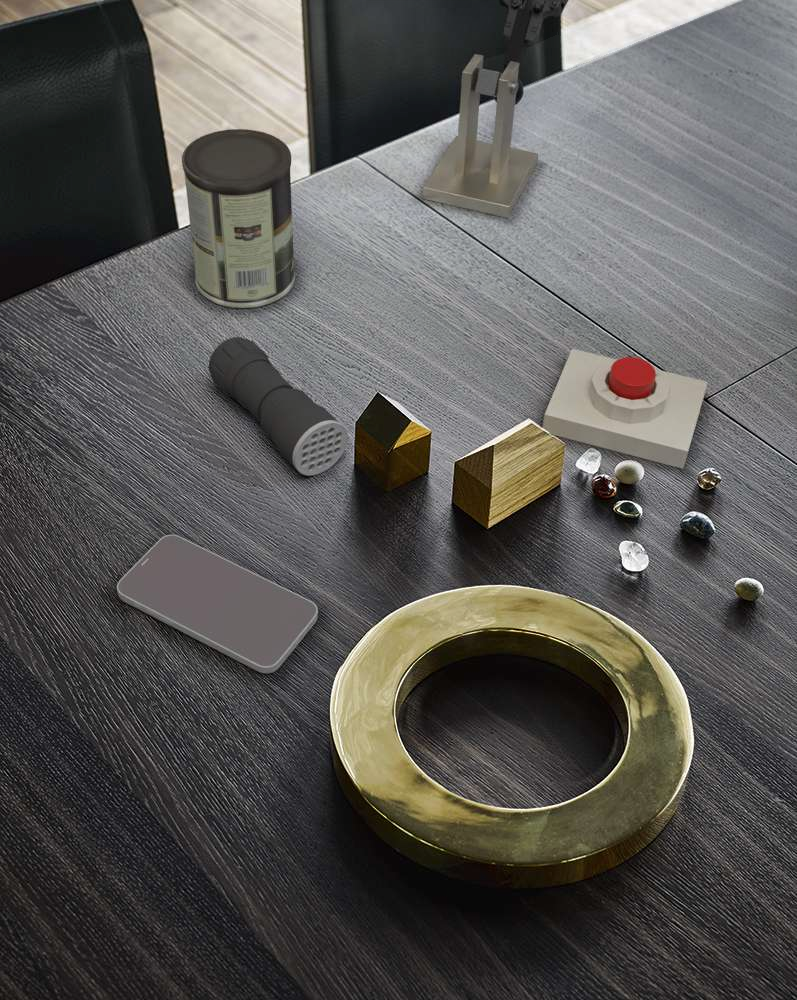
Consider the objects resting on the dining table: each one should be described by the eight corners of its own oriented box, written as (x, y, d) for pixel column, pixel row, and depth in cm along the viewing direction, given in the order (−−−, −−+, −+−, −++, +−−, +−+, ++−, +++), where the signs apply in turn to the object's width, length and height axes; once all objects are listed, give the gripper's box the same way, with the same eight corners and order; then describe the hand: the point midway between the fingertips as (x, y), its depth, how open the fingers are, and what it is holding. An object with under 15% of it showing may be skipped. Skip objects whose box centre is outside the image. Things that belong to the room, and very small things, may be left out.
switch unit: (455, 146, 148) (463, 34, 138) (537, 164, 146) (551, 51, 136) (422, 199, 140) (428, 83, 130) (508, 218, 138) (521, 102, 128)
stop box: (703, 399, 118) (712, 366, 115) (683, 469, 111) (692, 436, 108) (568, 366, 120) (574, 333, 118) (541, 432, 114) (546, 399, 111)
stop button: (656, 377, 114) (660, 363, 113) (647, 405, 111) (650, 390, 110) (613, 367, 115) (616, 352, 114) (603, 394, 112) (606, 379, 111)
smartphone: (270, 672, 93) (110, 589, 98) (270, 680, 94) (111, 597, 99) (323, 606, 98) (168, 530, 102) (323, 613, 98) (169, 537, 103)
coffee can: (256, 238, 133) (250, 117, 123) (315, 284, 128) (313, 162, 118) (174, 272, 129) (160, 149, 119) (231, 322, 123) (221, 198, 113)
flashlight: (204, 389, 116) (200, 343, 113) (254, 367, 119) (251, 322, 115) (296, 484, 108) (294, 438, 104) (347, 459, 110) (347, 414, 106)
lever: (492, 105, 146) (499, 73, 145) (522, 111, 145) (529, 79, 144) (467, 96, 134) (474, 60, 133) (499, 102, 133) (507, 67, 132)
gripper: (624, -110, 143) (569, 92, 144) (515, -128, 146) (461, 70, 147) (622, -144, 136) (563, 69, 137) (507, -162, 139) (450, 46, 140)
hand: (510, 69), depth 142 cm, fingers closed
